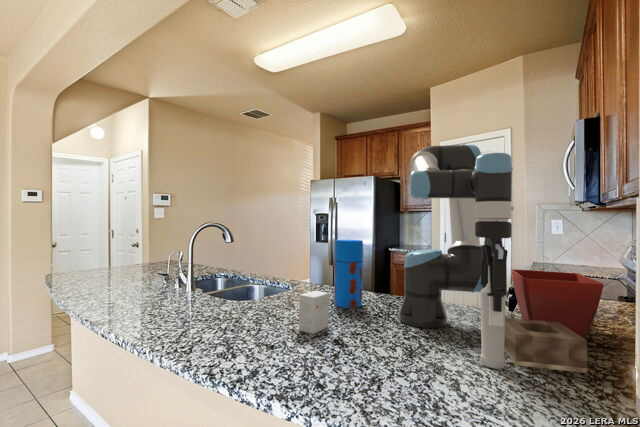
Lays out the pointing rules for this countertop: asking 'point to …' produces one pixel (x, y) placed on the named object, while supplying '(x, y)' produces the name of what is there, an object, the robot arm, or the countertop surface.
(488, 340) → the bottle
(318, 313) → the small box
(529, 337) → the socket block
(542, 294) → the plant pot
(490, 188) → the robot arm
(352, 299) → the thermos
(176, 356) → the countertop surface
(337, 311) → the countertop surface
